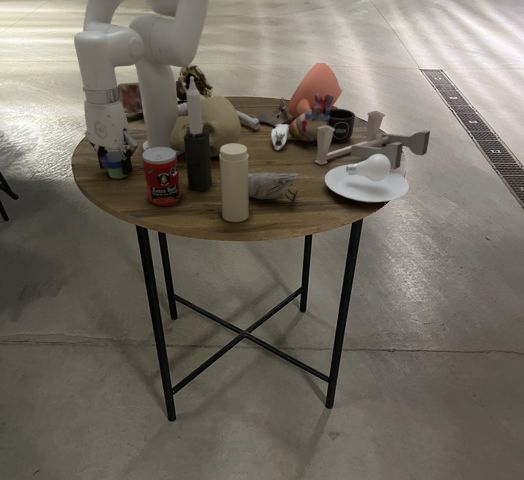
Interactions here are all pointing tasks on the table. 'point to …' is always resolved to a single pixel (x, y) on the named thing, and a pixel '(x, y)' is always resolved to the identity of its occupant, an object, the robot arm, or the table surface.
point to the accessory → (306, 145)
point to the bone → (249, 120)
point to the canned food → (162, 176)
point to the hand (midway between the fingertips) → (116, 169)
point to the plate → (366, 186)
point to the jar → (234, 182)
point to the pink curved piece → (314, 89)
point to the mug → (341, 124)
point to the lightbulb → (371, 167)
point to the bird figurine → (279, 135)
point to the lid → (111, 160)
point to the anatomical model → (312, 119)
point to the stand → (116, 173)
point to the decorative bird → (270, 185)
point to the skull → (211, 125)
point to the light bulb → (185, 107)
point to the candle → (197, 144)
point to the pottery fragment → (274, 115)
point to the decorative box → (130, 97)
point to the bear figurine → (199, 81)
